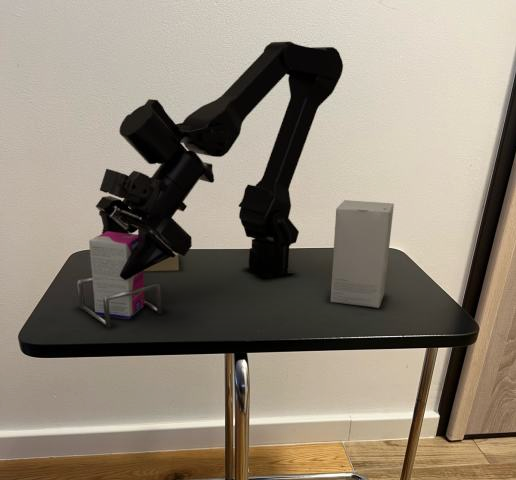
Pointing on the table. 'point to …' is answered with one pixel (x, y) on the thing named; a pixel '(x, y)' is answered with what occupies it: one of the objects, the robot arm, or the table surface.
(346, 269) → the cosmetic box
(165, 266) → the ledge
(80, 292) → the rack
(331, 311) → the table surface
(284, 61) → the robot arm
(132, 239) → the supplement box
